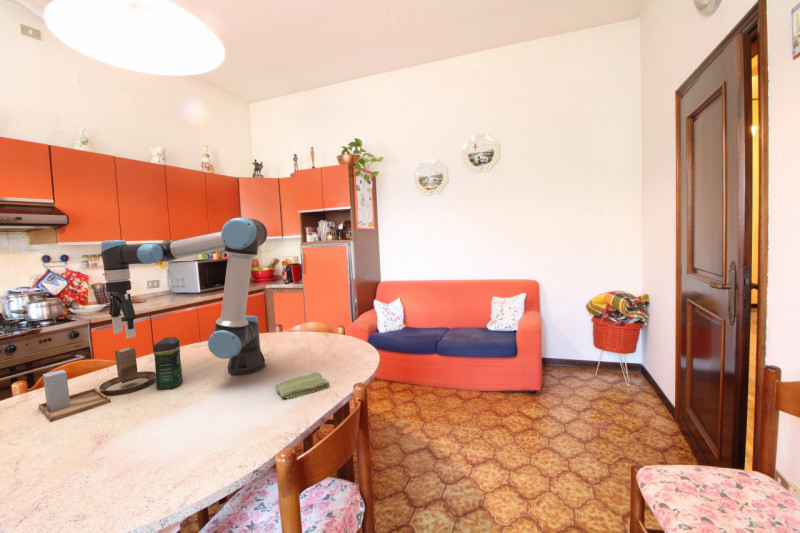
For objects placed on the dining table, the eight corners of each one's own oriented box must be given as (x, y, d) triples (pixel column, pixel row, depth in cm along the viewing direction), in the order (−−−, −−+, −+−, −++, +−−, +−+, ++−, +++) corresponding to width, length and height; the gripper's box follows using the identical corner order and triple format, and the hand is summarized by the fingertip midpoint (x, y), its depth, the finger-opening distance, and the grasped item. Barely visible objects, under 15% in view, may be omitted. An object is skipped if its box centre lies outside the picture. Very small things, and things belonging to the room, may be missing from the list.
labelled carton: (138, 378, 136) (135, 348, 135) (122, 383, 132) (119, 352, 131) (133, 376, 138) (130, 346, 137) (118, 380, 134) (114, 350, 133)
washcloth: (273, 389, 129) (273, 381, 129) (319, 377, 139) (318, 369, 138) (282, 402, 118) (281, 393, 118) (331, 389, 128) (330, 380, 127)
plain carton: (70, 405, 120) (66, 371, 119) (50, 411, 116) (45, 377, 115) (66, 402, 122) (62, 369, 121) (47, 408, 118) (42, 374, 117)
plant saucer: (87, 400, 125) (86, 392, 125) (118, 380, 142) (118, 373, 142) (141, 395, 128) (140, 387, 127) (165, 376, 145) (164, 369, 145)
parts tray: (110, 403, 121) (110, 399, 121) (51, 422, 109) (50, 418, 109) (95, 392, 131) (95, 388, 131) (39, 408, 119) (38, 404, 118)
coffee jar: (178, 388, 131) (173, 341, 130) (153, 392, 129) (149, 343, 127) (185, 379, 141) (181, 334, 139) (163, 382, 138) (158, 336, 137)
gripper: (95, 280, 136) (101, 333, 138) (117, 283, 122) (124, 342, 123) (118, 278, 142) (124, 329, 144) (142, 280, 128) (148, 336, 130)
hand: (124, 335), depth 134 cm, fingers open, 13 cm apart
